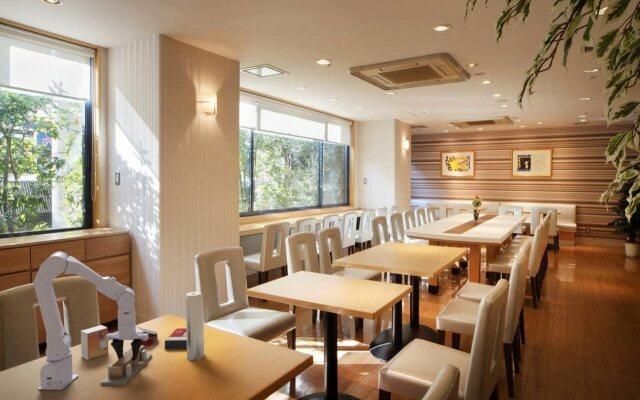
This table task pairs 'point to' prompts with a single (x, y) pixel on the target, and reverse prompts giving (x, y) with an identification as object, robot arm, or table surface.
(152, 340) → the canned food
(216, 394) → the table surface
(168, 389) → the table surface
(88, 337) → the small box
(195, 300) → the paper towel roll
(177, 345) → the black and red box
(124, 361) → the banded tan post
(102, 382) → the base plate
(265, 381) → the table surface
